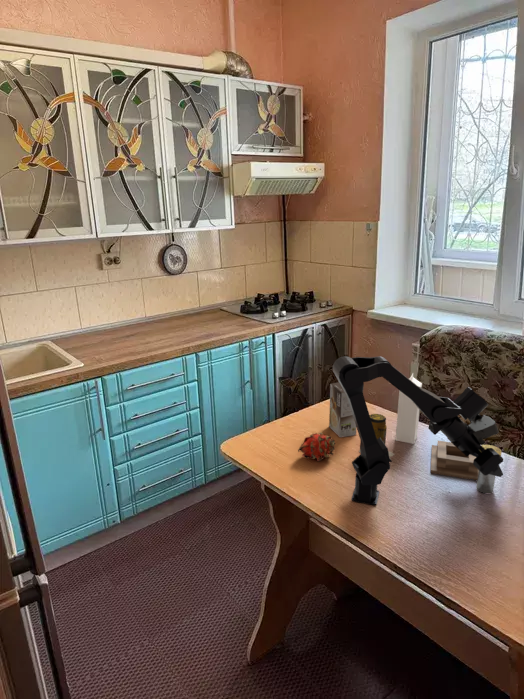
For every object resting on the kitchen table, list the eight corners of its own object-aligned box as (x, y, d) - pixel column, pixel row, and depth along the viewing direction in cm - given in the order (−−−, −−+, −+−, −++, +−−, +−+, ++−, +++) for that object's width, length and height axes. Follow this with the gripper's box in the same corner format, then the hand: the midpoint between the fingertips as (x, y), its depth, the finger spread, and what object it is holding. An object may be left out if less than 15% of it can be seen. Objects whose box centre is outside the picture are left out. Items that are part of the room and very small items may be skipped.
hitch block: (483, 481, 137) (485, 468, 135) (430, 473, 141) (431, 460, 140) (479, 454, 151) (481, 443, 150) (431, 447, 155) (432, 436, 154)
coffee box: (357, 435, 164) (359, 390, 160) (339, 437, 162) (341, 392, 158) (344, 423, 173) (346, 381, 168) (327, 426, 171) (329, 383, 166)
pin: (496, 496, 130) (502, 456, 126) (474, 492, 131) (479, 452, 128) (494, 485, 135) (500, 446, 131) (473, 482, 136) (478, 443, 133)
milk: (395, 440, 160) (399, 377, 154) (398, 433, 166) (403, 371, 159) (414, 444, 158) (419, 379, 151) (417, 436, 163) (422, 373, 157)
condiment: (373, 444, 158) (375, 410, 154) (395, 454, 152) (398, 419, 148) (358, 451, 153) (360, 416, 150) (380, 462, 147) (383, 425, 144)
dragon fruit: (338, 461, 151) (301, 470, 149) (328, 436, 156) (292, 445, 154) (342, 449, 144) (303, 459, 142) (332, 424, 149) (294, 433, 147)
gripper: (500, 425, 117) (537, 463, 121) (462, 395, 135) (495, 430, 139) (465, 456, 118) (502, 493, 123) (432, 423, 136) (465, 456, 140)
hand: (491, 466), depth 131 cm, fingers open, 9 cm apart
